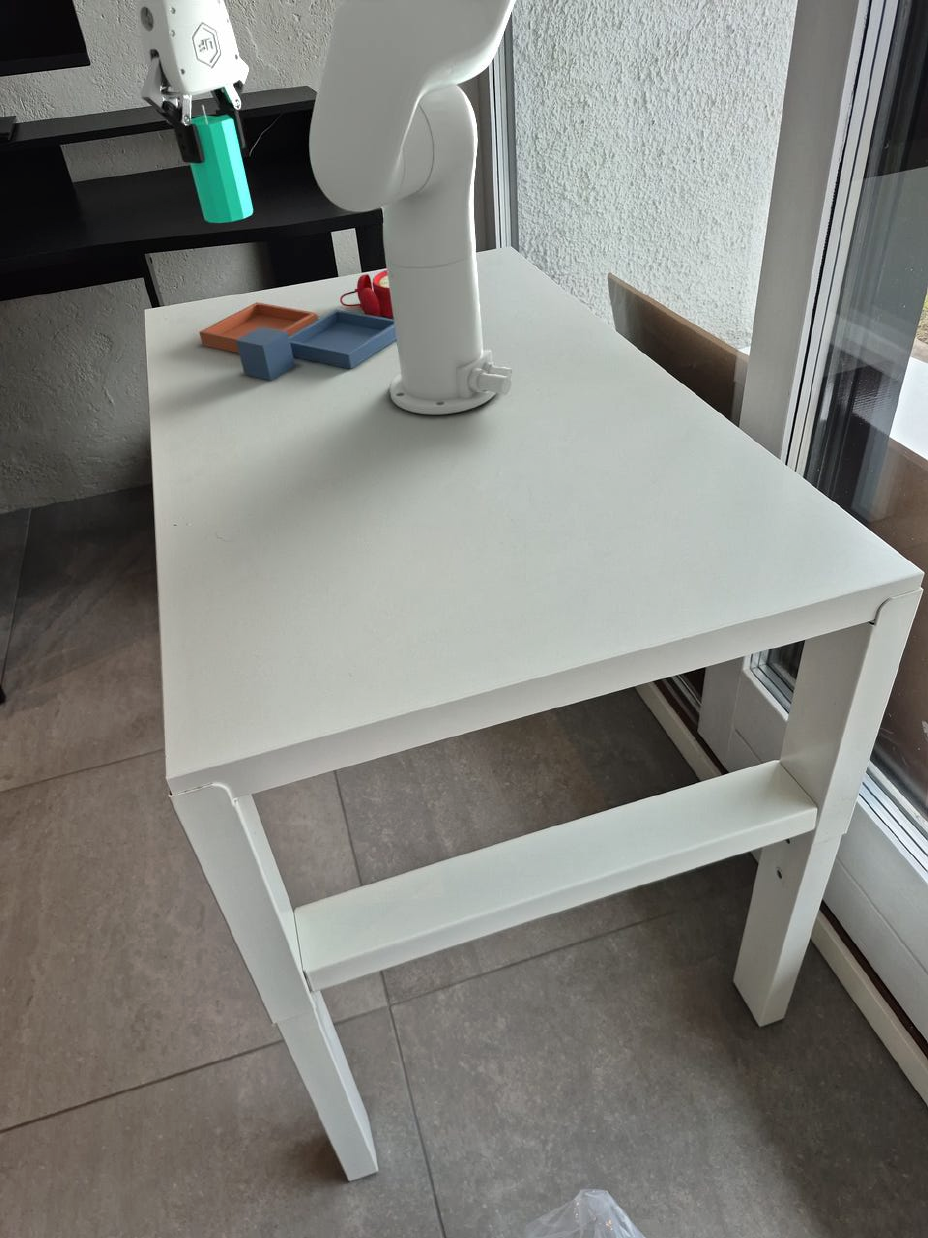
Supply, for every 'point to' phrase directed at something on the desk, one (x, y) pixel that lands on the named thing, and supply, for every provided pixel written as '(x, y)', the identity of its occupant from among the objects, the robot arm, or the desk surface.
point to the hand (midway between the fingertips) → (214, 152)
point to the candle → (220, 171)
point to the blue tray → (343, 338)
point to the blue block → (265, 353)
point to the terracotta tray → (254, 324)
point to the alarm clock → (373, 295)
